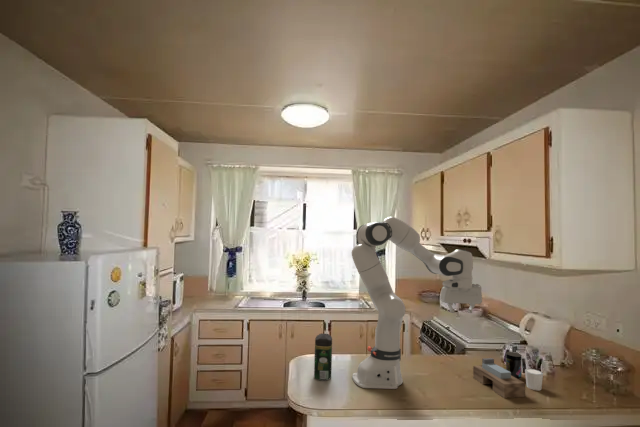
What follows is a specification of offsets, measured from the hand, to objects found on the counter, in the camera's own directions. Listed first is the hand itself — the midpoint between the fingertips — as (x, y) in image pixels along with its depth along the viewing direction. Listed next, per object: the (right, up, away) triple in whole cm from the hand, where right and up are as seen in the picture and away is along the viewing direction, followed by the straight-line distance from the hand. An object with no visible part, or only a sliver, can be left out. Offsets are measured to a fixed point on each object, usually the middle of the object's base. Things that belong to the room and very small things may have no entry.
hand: (460, 312), depth 166 cm
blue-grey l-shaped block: (+11, -24, -11) cm, 29 cm away
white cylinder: (+28, -30, -12) cm, 43 cm away
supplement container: (+25, -31, 0) cm, 40 cm away
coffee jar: (-66, -27, -8) cm, 72 cm away
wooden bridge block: (+11, -29, -12) cm, 34 cm away
